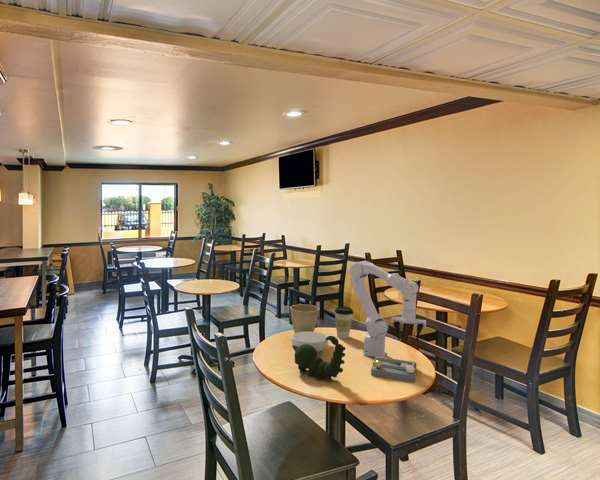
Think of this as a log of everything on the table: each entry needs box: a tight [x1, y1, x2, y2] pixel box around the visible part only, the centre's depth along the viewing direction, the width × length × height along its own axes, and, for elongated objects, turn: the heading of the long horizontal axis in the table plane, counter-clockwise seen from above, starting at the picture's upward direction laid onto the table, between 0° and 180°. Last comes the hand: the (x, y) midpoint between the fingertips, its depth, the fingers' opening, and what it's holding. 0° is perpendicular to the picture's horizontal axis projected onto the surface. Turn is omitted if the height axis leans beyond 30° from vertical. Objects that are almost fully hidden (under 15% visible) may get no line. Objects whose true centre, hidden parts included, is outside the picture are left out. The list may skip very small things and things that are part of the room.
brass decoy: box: [374, 360, 382, 368], centre depth 160 cm, size 3×3×3 cm
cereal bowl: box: [291, 331, 329, 353], centre depth 184 cm, size 17×17×7 cm
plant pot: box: [289, 303, 320, 334], centre depth 201 cm, size 15×15×16 cm
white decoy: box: [406, 365, 414, 373], centre depth 156 cm, size 3×3×3 cm
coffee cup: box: [334, 306, 354, 340], centre depth 206 cm, size 10×10×15 cm
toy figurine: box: [291, 335, 346, 382], centre depth 157 cm, size 9×19×25 cm
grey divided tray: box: [370, 356, 417, 383], centre depth 163 cm, size 17×14×4 cm
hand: (407, 339), depth 172 cm, fingers open, 7 cm apart
